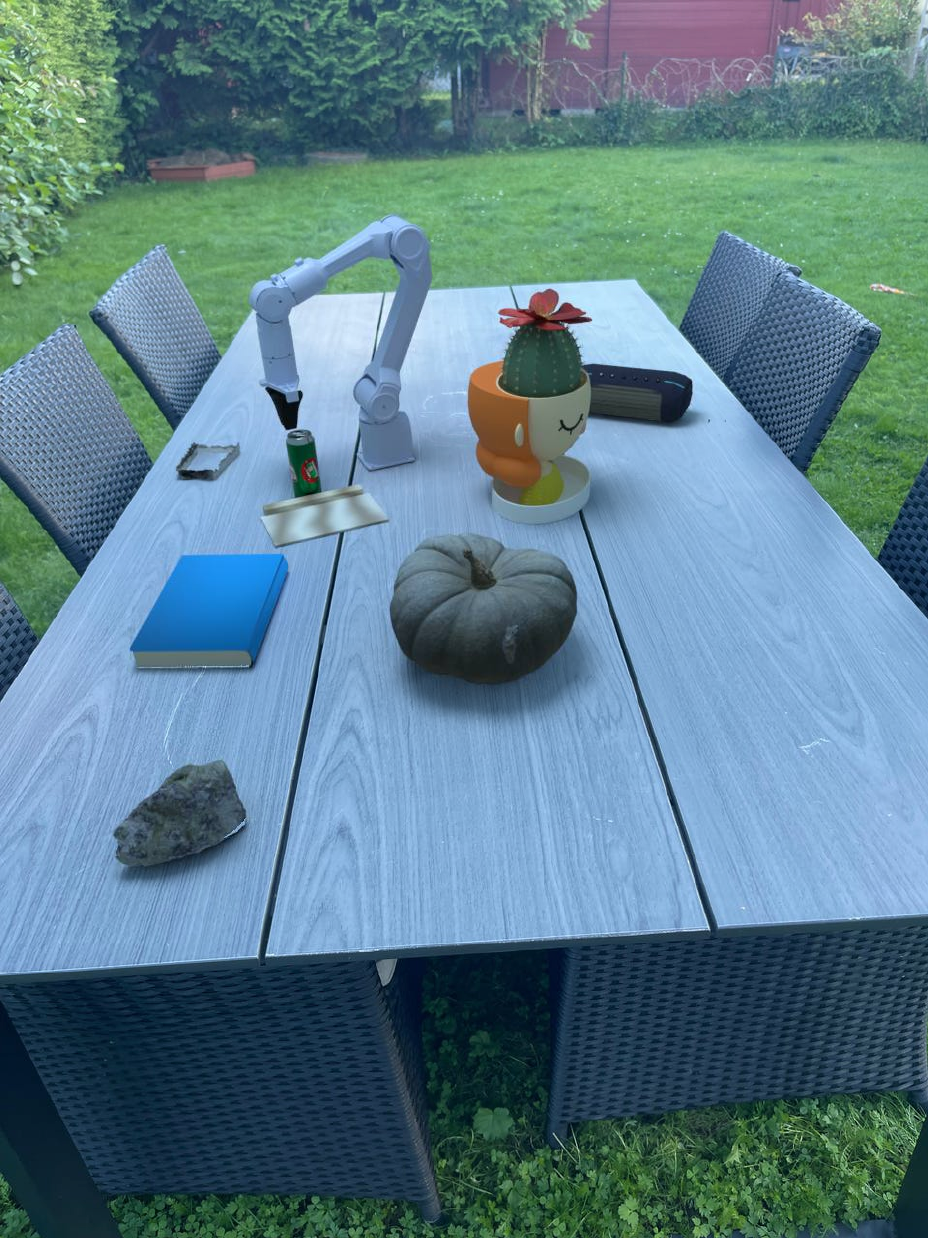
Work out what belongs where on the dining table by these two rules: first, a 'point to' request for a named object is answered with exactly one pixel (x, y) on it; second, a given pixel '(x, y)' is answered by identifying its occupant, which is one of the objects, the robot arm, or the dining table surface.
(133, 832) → the mineral rock
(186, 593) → the book
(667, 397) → the portable speaker
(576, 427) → the potted cactus
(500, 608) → the gourd
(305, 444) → the soda can
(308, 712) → the dining table surface
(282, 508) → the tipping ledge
